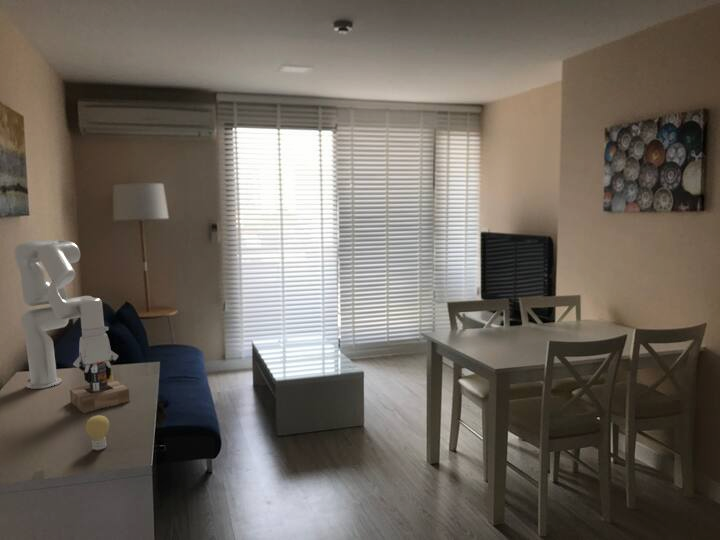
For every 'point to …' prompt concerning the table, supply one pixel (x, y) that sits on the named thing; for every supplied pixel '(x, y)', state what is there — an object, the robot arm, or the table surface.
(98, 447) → the light bulb
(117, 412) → the table surface
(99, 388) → the pill bottle
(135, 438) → the table surface
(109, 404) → the socket block
